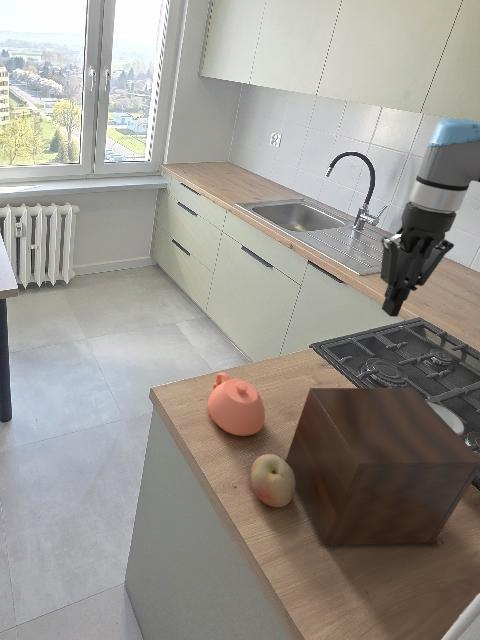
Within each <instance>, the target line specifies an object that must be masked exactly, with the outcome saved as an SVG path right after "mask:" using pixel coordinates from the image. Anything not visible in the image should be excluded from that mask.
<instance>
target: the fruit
mask: <svg viewBox="0 0 480 640" xmlns="http://www.w3.org/2000/svg"><path fill="white" fill-rule="evenodd" d="M285 461H286V460H284V459H283V458H282V457H281V456H279V455H277V454H272V453H271V454H269V453H268V454H267V453H266V454H262V455H261V456H259V457H257V458H255V460H254V462H253V464H252V465H251V469H250V477H249V478H250V479H249V480H250V485H251V489H252V492H253V493H254V495H255V496H256V497H257V498H258V499H259V500H260V501H261V502H262V503H264V504H265V505H267V506H269V507H273V508H283V507H286V506H287V505H288V504H290V502H291V501H292V498H293V496H294V494H295V492H296V489H297V488H296V480H295V475H294V473H293V471H292V469H291V468H290V466H289V465H288V464H287V463H286V462H285Z"/></svg>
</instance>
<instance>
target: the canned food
mask: <svg viewBox="0 0 480 640" xmlns="http://www.w3.org/2000/svg"><path fill="white" fill-rule="evenodd" d="M426 402H427V403H428V404H429V405H430V406H431V407H432V408H433V409H434V410H435V412H436V413H437V414H438V415H439V416H440V417H441V418H442V419H443V420H444V421H445V422H446V423H447V424H448V425H449V426H450V427H451V428H452V429H453V430H454V431H455V432H456V434H457V435H458V436H459V437H460V438H461V437H462V436H463V434H464V432H465V426H464V424H463V422H462V421H461V419H460V418H459V417H458V416H457V415H456V414H454V412H452V411H450V410H449V409H447V408H445V407H444V406H442V405H439V404H436V403H434V402H429V401H426ZM461 439H462V438H461Z"/></svg>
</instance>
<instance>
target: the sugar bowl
mask: <svg viewBox="0 0 480 640" xmlns="http://www.w3.org/2000/svg"><path fill="white" fill-rule="evenodd" d="M222 378H223V379H222ZM222 380H224V381H222ZM212 389H213V390H212V392H211V393H210V395H209V397H208V401H207V410H208V413H209V415H210V417H211V419H212V420H213V422H214V423H215V424H216V425H217V426H218V427H220V428H221V429H222V430H223V431H224V432H226V433H228V434H231V435H233V436H234V435H235V436H238V437H239V436H240V437H247V436H251V435H254V434H257V433H258V432H259V431H260V430H261V429H262V428H263V426H264V424H265V420H266V411H265V406H264V403H263V402H264V401H263V399H262V398H261V396H260V394H259V392H258V390H257V389H256V388H255V387H254V386H253V385H252V384H251V383H249V382H248V381H247V380H243V379H240V378H231V377H230V376H229V374H227V373H226V372H224V371H222V372H218V373H217V374H216V378H215V382H214V384H212Z"/></svg>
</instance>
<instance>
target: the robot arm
mask: <svg viewBox="0 0 480 640" xmlns="http://www.w3.org/2000/svg"><path fill="white" fill-rule="evenodd" d="M420 163H421V164H420V165H419V169H418V172H417V175H416V178H415V180H414V183H413V185H412V188H411V190H410V193H409V196H408V200H409V201H408V202H406V204H405V206H404V209H403V211H402V214H401V217H400V219H401V226H400V227H399V228H398V229H397V231H396V232H395V234H394V235H392V236H391V237H387V236H383V237H382V238H381V239H380V241H381V244H382V248H383V249H382V257H381V267H380V276H379V277H380V279H381V280H382V281H383V283H385V284H387V287H386V290H385V292H384V296H383V297H384V298H385V299H384V301H383V304H382V306H381V310H382V311H383V312H385V313H386V315H388V316H389V317H394V318H395V317H399V315H400V311H401V310H402V309H401V308H402V307H403V304H404V302H406V301H407V300H408V298H409V295H410V292H411V291H412V292H416V291H417V290H418V287H417V286H419V287H423V286H424V285H425V284H426V282H427V281H428V279H429V278H430V277H431V276H432V274H433V272H434V271H435V270H436V268H438V265H439V264H440V262H441V261H442V260H443V258H444V257H445V256H446V254H448V253H449V252H450V251H451V250H452V249H453V248H454V247H455V244H454V243H453V242H450V241H449V240H447V239H446V233H448V232H449V231H451V229H452V226H453V224H454V222H455V219H456V218H457V213H456V212H457V211H459V210H460V209H461V206H462V204H463V201H464V199H465V198H466V197H465V196H466V194H467V192H468V190H469V187H470V184H471V183H472V182H478V183H480V121H479V120H473V119H466V118H446V119H445V118H444V119H442V120H441V121H439V122H438V123H437V124H436V126H435V128H434V130H433V133H432V135H431V138H430V140H429V142H428V143H427V147H426V149H425V152H424V155H423V158H422V161H421V162H420Z"/></svg>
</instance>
